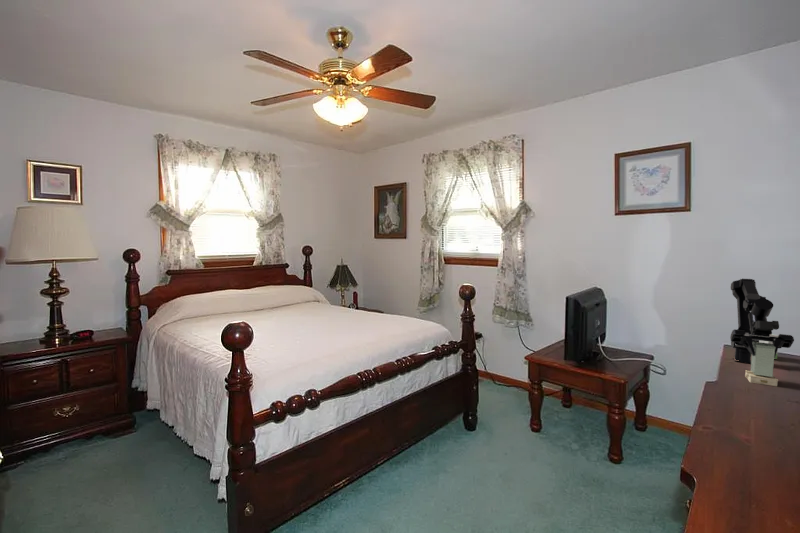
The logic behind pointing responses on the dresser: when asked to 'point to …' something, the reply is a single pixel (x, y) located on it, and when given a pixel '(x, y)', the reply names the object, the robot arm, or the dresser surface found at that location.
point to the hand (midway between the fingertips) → (763, 356)
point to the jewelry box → (761, 379)
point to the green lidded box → (763, 359)
